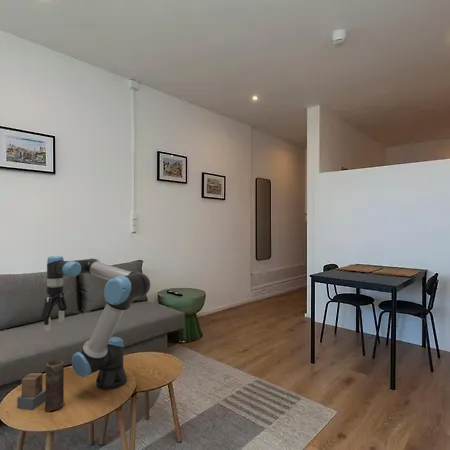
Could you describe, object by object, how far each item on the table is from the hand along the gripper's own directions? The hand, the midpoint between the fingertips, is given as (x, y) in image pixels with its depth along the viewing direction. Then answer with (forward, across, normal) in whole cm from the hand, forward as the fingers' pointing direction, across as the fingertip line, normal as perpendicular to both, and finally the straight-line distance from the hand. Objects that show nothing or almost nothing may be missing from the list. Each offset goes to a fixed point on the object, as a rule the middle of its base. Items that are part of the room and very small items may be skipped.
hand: (54, 326), depth 168 cm
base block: (+29, +21, +1) cm, 36 cm away
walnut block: (+24, +21, +1) cm, 32 cm away
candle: (+29, +23, +13) cm, 39 cm away
